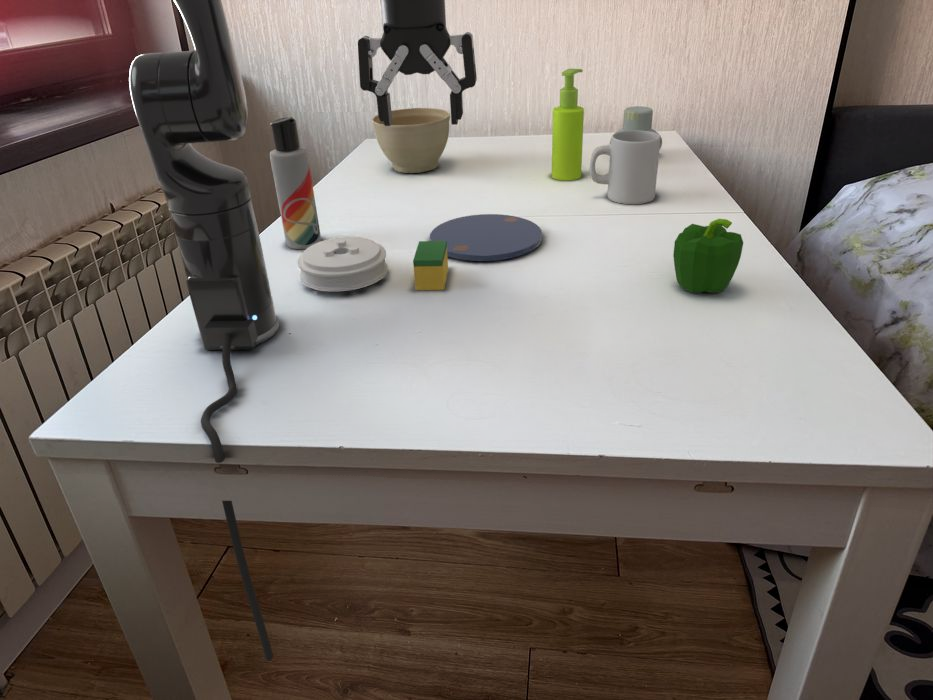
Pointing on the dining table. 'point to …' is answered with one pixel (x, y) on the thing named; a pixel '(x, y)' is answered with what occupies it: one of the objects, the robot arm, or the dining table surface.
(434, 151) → the planter bowl
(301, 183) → the lotion bottle
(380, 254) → the lid
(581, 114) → the soap dispenser
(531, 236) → the plate
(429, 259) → the sponge
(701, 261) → the bell pepper
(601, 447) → the dining table surface
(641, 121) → the air freshener
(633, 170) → the mug
